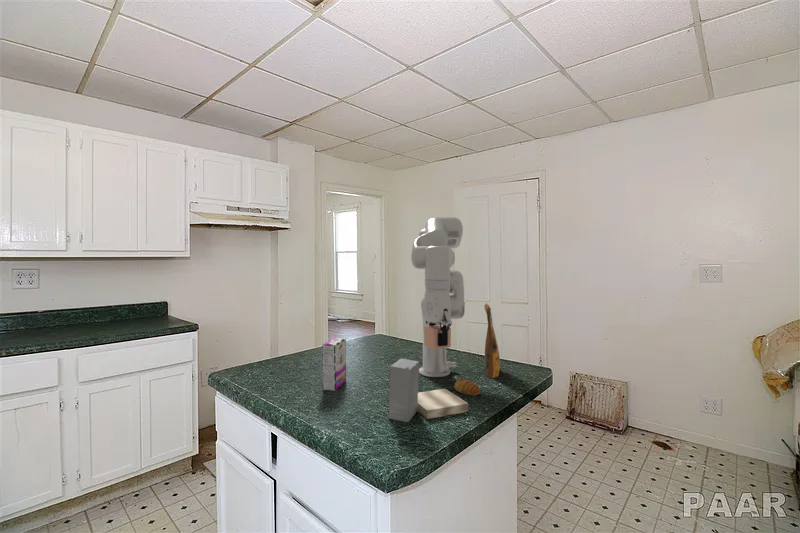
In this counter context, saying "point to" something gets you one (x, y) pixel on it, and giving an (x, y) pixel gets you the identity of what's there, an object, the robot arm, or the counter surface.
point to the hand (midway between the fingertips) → (437, 342)
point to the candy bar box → (334, 364)
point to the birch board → (440, 403)
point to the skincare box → (403, 389)
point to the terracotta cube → (434, 337)
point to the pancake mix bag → (491, 348)
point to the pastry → (467, 387)
